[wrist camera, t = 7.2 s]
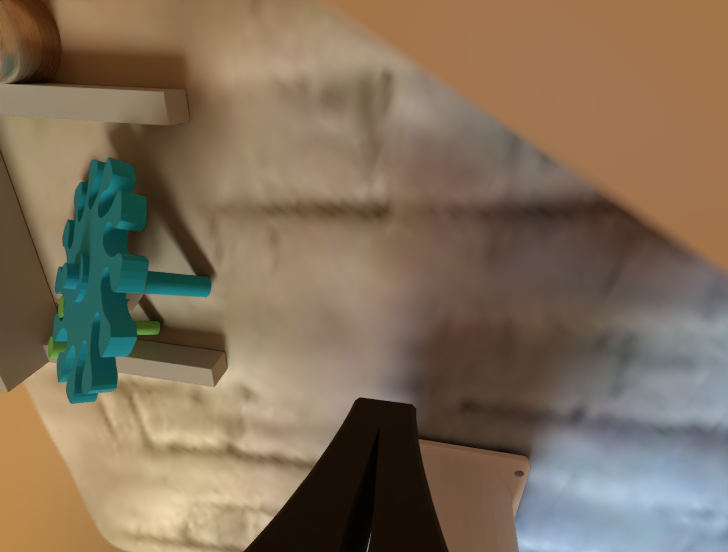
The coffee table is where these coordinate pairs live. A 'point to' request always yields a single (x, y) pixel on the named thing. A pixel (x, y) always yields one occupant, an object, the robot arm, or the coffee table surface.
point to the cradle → (20, 261)
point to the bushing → (27, 42)
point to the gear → (105, 283)
